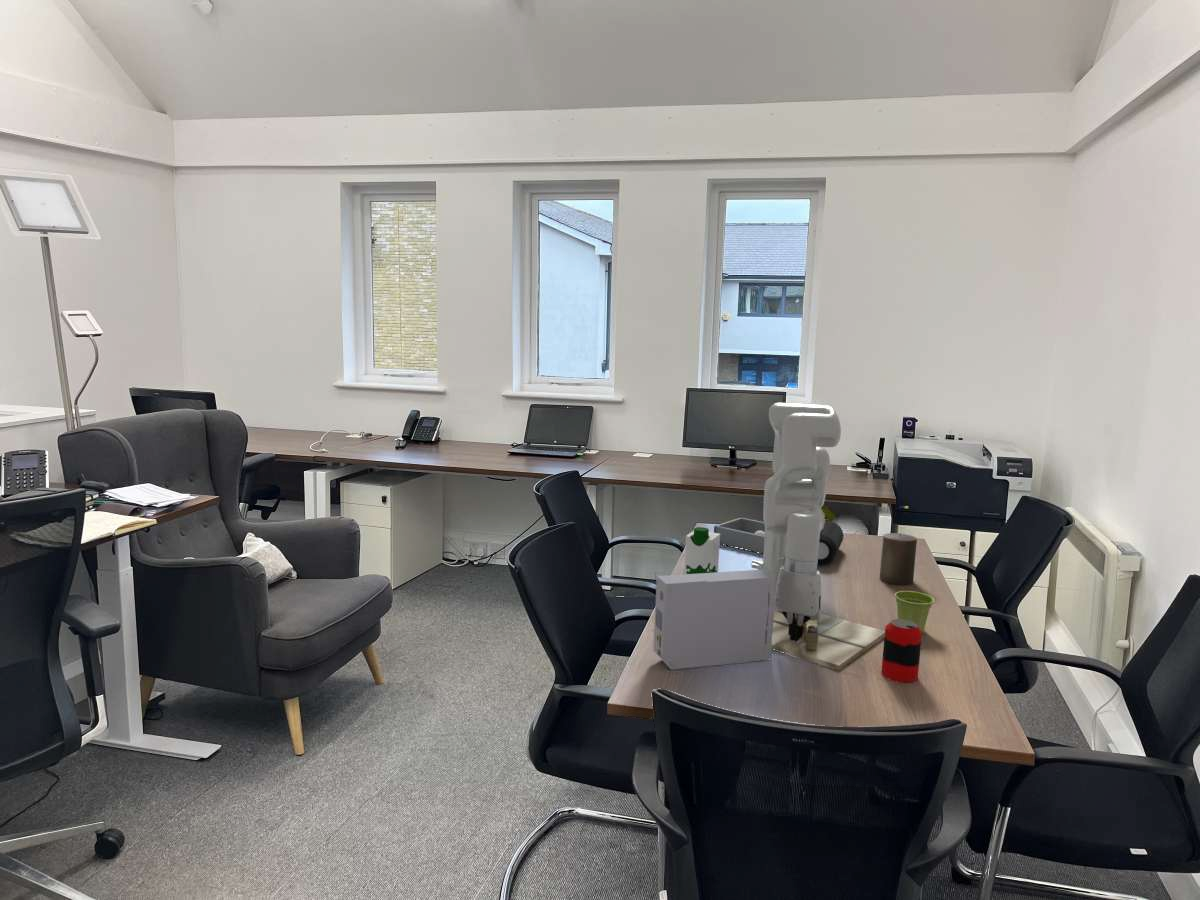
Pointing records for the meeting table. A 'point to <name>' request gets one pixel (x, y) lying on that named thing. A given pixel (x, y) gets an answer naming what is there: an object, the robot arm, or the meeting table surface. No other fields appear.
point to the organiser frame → (742, 534)
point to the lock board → (827, 640)
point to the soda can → (901, 651)
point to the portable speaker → (829, 542)
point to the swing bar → (811, 633)
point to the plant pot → (913, 607)
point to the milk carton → (702, 551)
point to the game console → (714, 618)
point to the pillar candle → (898, 558)
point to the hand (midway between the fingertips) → (795, 638)
